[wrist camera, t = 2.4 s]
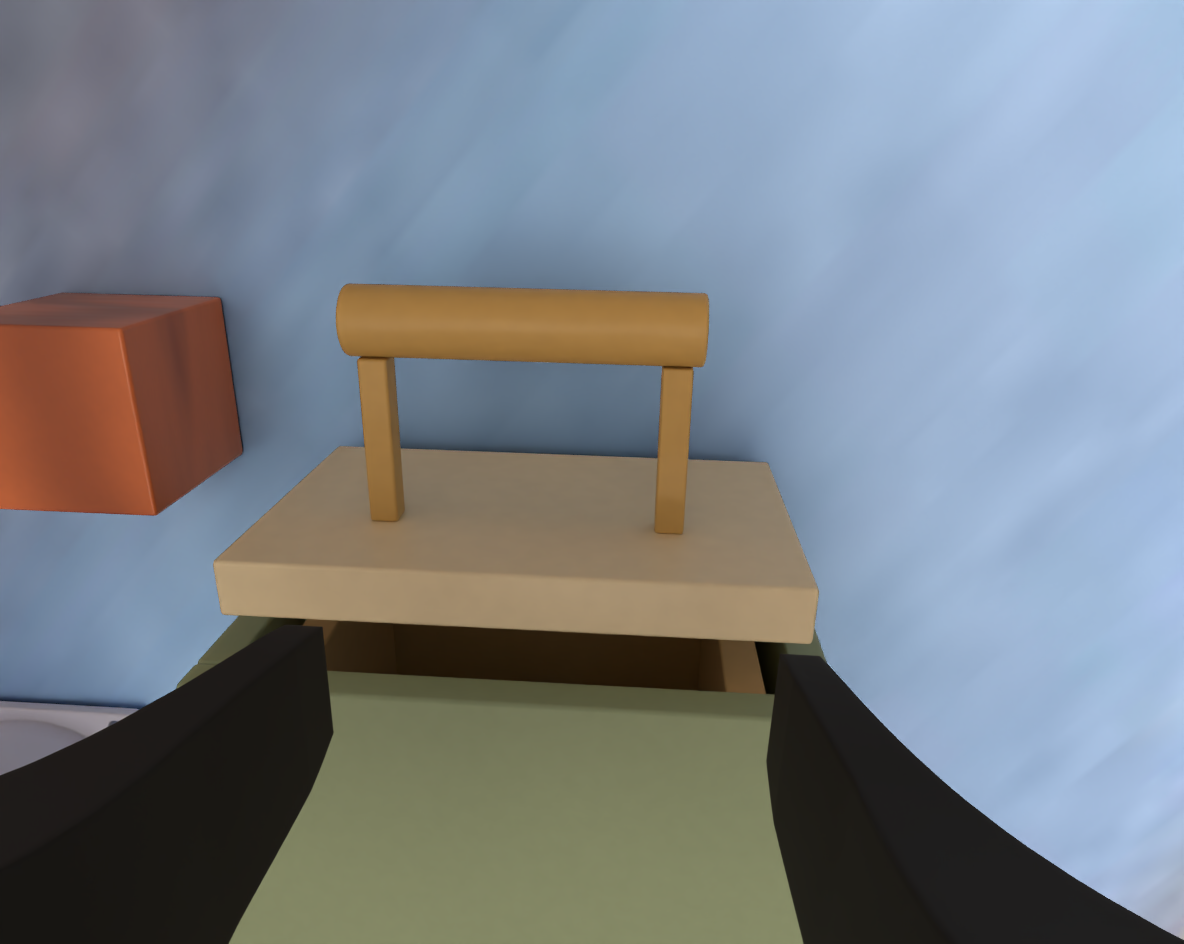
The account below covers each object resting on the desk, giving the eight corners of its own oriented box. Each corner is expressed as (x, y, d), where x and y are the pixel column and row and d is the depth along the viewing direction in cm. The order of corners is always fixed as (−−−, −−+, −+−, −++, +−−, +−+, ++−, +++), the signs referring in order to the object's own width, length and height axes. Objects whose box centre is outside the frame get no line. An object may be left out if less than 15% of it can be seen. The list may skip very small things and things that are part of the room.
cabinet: (336, 506, 23) (173, 685, 15) (778, 524, 23) (850, 723, 15) (377, 908, 29) (273, 1194, 21) (733, 933, 28) (767, 1238, 20)
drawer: (319, 256, 20) (167, 300, 14) (788, 268, 19) (856, 319, 13) (379, 859, 27) (296, 1074, 21) (725, 881, 26) (750, 1110, 20)
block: (94, 447, 23) (-25, 509, 19) (61, 292, 22) (-77, 322, 18) (244, 453, 23) (156, 517, 19) (221, 296, 21) (120, 328, 17)
